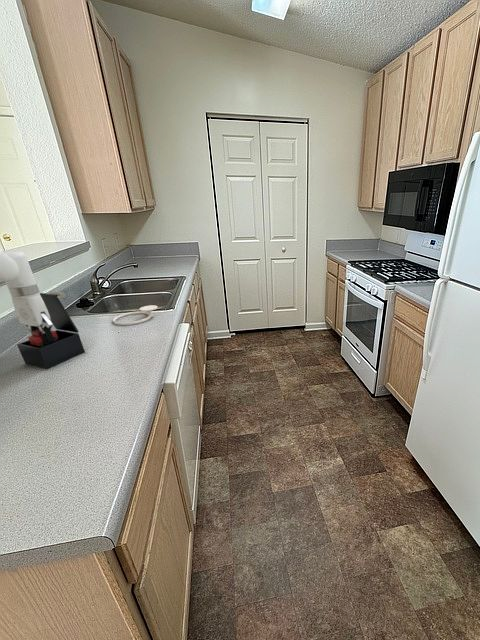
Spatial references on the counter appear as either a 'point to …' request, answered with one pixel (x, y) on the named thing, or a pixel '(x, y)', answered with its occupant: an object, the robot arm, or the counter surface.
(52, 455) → the counter surface
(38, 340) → the toy car
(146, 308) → the hand towel holder
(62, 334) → the open lidded box
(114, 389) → the counter surface
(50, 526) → the counter surface
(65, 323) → the box lid
